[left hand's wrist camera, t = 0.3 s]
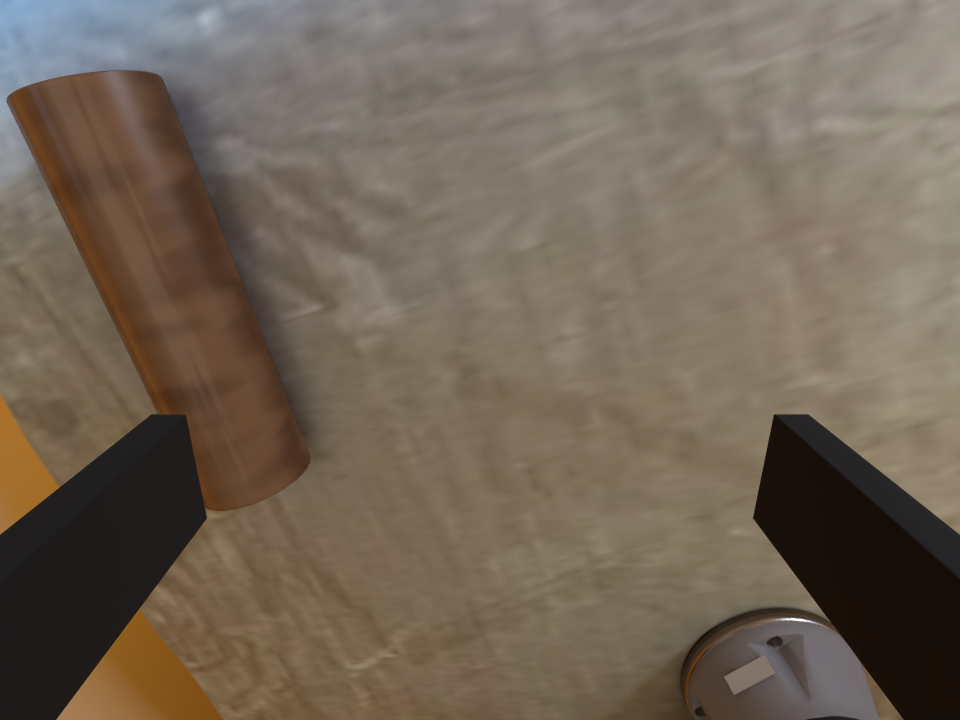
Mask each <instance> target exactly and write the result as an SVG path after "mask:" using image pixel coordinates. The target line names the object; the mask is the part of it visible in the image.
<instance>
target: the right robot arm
mask: <svg viewBox="0 0 960 720" xmlns="http://www.w3.org/2000/svg"><path fill="white" fill-rule="evenodd" d="M681 687H682V692H683V695H684V698H685V701H686V703H687V706H688V709H689V711H690V714H691V716H692V718H693V719H694V720H880V718H879V715H878V712H877V709H876V707H875V704H874V701H873V698H872V695H871V692H870V689H869V686H868V683H867V680H866V677H865V674H864V671H863V668H862V665H861V663H860V661H859V659H858V658H857V656H856V655H855V654H854V652H853V651H852V650H851V648H850V647H849V646H848V644H847V643H846V642H845V640H844V639H843V638H842V636H841V635H840V634H839V632H838V631H837V630H836V628H835V627H834V626H833V625H832V624H831V623H830V622H828V621H827V620H825V619H823V618H821V617H819V616H817V615H814V614H811V613H808V612H804V611H799V610H792V609H769V610H761V611H756V612H752V613H748V614H745V615H742V616H739V617H736V618H734V619H732V620H729V621H727V622H725V623H724V624H722V625H720V626H718V627H717V628H715V629H714V630H712V631H711V632H710V633H708V634H707V635H706V636H705V637H704V638H703V639H702V640H700V641H699V643H698V644H697V645H696V646H695V647H694V649H693V650H692V651H691V653H690V654H689V656H688V658H687V660H686V662H685V664H684V667H683V671H682V676H681Z"/></svg>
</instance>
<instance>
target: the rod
mask: <svg viewBox="0 0 960 720" xmlns="http://www.w3.org/2000/svg"><path fill="white" fill-rule="evenodd" d="M7 104H8V106H9V108H10V110H11V112H12V114H13V116H14V118H15V121H16V123H17V125H18V127H19V129H20V131H21V133H22V135H23V137H24V139H25V141H26V143H27V145H28V147H29V149H30V151H31V153H32V156H33V158H34V160H35V162H36V164H37V166H38V168H39V170H40V172H41V174H42V176H43V178H44V180H45V182H46V184H47V186H48V188H49V191H50V193H51V195H52V197H53V199H54V201H55V203H56V205H57V207H58V209H59V211H60V213H61V215H62V217H63V219H64V221H65V224H66V226H67V228H68V230H69V232H70V234H71V236H72V238H73V240H74V242H75V244H76V246H77V248H78V250H79V252H80V254H81V256H82V259H83V261H84V263H85V265H86V267H87V269H88V271H89V273H90V275H91V277H92V279H93V281H94V283H95V285H96V287H97V289H98V292H99V294H100V296H101V298H102V300H103V302H104V304H105V306H106V308H107V310H108V312H109V314H110V316H111V318H112V320H113V322H114V324H115V327H116V329H117V331H118V333H119V335H120V337H121V339H122V341H123V343H124V345H125V347H126V349H127V351H128V353H129V355H130V357H131V359H132V362H133V364H134V366H135V368H136V370H137V372H138V374H139V376H140V378H141V380H142V382H143V384H144V386H145V388H146V390H147V392H148V395H149V397H150V399H151V401H152V403H153V405H154V407H155V409H156V411H157V413H158V415H186V417H187V422H188V427H189V432H190V437H191V442H192V447H193V452H194V457H195V462H196V467H197V472H198V477H199V481H200V486H201V491H202V496H203V501H204V506H205V508H207V509H210V510H215V511H225V510H232V509H237V508H242V507H245V506H248V505H251V504H254V503H257V502H259V501H262V500H264V499H266V498H268V497H270V496H272V495H274V494H276V493H278V492H279V491H281V490H283V489H284V488H286V487H287V486H289V485H290V484H291V483H293V482H294V481H295V480H296V479H298V478H299V477H300V476H301V475H302V474H303V473H304V471H305V470H306V469H307V467H308V465H309V463H310V454H309V451H308V449H307V446H306V444H305V441H304V438H303V436H302V433H301V431H300V428H299V426H298V423H297V421H296V418H295V415H294V413H293V410H292V408H291V405H290V403H289V400H288V398H287V395H286V392H285V390H284V387H283V385H282V382H281V380H280V377H279V375H278V372H277V370H276V367H275V364H274V362H273V359H272V357H271V354H270V352H269V349H268V347H267V344H266V341H265V339H264V336H263V334H262V331H261V329H260V326H259V324H258V321H257V318H256V316H255V313H254V311H253V308H252V306H251V303H250V301H249V298H248V295H247V293H246V290H245V288H244V285H243V283H242V280H241V278H240V275H239V272H238V270H237V267H236V265H235V262H234V260H233V257H232V255H231V252H230V249H229V247H228V244H227V242H226V239H225V237H224V234H223V232H222V229H221V226H220V224H219V221H218V219H217V216H216V214H215V211H214V209H213V206H212V203H211V201H210V198H209V196H208V193H207V191H206V188H205V186H204V183H203V180H202V178H201V175H200V173H199V170H198V168H197V165H196V163H195V160H194V158H193V155H192V152H191V150H190V147H189V145H188V142H187V140H186V137H185V135H184V132H183V129H182V127H181V124H180V122H179V119H178V117H177V114H176V112H175V109H174V106H173V104H172V101H171V99H170V96H169V94H168V91H167V89H166V86H165V83H164V81H163V79H162V77H161V76H159V75H157V74H154V73H150V72H144V71H132V70H117V71H100V72H90V73H82V74H75V75H69V76H63V77H58V78H53V79H49V80H45V81H41V82H38V83H34V84H31V85H28V86H25V87H23V88H21V89H18V90H16V91H15V92H13V93H11V94H10V95H9V96H8V97H7Z"/></svg>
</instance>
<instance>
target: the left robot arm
mask: <svg viewBox="0 0 960 720" xmlns="http://www.w3.org/2000/svg"><path fill="white" fill-rule="evenodd" d="M206 519H207V516H206V511H205V506H204V501H203V496H202V491H201V486H200V481H199V477H198V472H197V467H196V462H195V457H194V452H193V447H192V442H191V437H190V432H189V427H188V422H187V417H186V415H150V416H149V417H148V418H147V419H145V420H144V421H143V422H142V423H140V424H139V425H138V426H137V427H135V428H134V429H133V430H132V431H130V432H129V433H128V434H127V435H125V436H124V437H123V438H121V439H120V440H119V441H118V442H116V443H115V444H114V445H113V446H111V447H110V448H109V449H108V450H106V451H105V452H104V453H103V454H101V455H100V456H99V457H98V458H96V459H95V460H94V461H93V462H91V463H90V464H89V465H88V466H86V467H85V468H84V469H82V470H81V471H80V472H79V473H77V474H76V475H75V476H74V477H72V478H71V479H70V480H69V481H67V482H66V483H65V484H64V485H62V486H61V487H60V488H59V489H57V490H56V491H55V492H54V493H52V494H51V495H50V496H49V497H47V498H46V499H45V500H44V501H42V502H41V503H40V504H39V505H37V506H36V507H35V508H34V509H32V510H31V511H30V512H28V513H27V514H26V515H25V516H23V517H22V518H21V519H20V520H18V521H17V522H16V523H15V524H13V525H12V526H11V527H10V528H8V529H7V530H6V531H4V532H3V533H2V534H1V535H0V720H56V719H57V718H58V716H59V715H60V714H61V712H62V711H63V710H64V708H65V707H66V706H67V704H68V703H69V702H70V700H71V699H72V698H73V696H74V695H75V694H76V692H77V691H78V690H79V688H80V687H81V686H82V684H83V683H84V682H85V680H86V679H87V678H88V676H89V675H90V674H91V672H92V671H93V670H94V668H95V667H96V666H97V664H98V663H99V662H100V660H101V659H102V658H103V656H104V655H105V654H106V652H107V651H108V650H109V648H110V647H111V646H112V644H113V643H114V642H115V640H116V639H117V638H118V636H119V635H120V634H121V632H122V631H123V630H124V628H125V627H126V626H127V624H128V623H129V622H130V620H131V619H132V618H133V616H134V615H135V614H136V612H137V611H138V610H139V608H140V607H141V606H142V604H143V603H144V602H145V600H146V599H147V598H148V596H149V595H150V594H151V592H152V591H153V590H154V588H155V587H156V586H157V584H158V583H159V582H160V580H161V579H162V578H163V576H164V575H165V574H166V572H167V571H168V570H169V568H170V567H171V566H172V564H173V563H174V562H175V560H176V559H177V558H178V556H179V555H180V554H181V552H182V551H183V550H184V548H185V547H186V546H187V544H188V543H189V542H190V540H191V539H192V538H193V536H194V535H195V534H196V532H197V531H198V529H199V528H200V527H201V525H202V524H203V523H204V521H205V520H206ZM753 519H754V520H755V521H756V523H757V524H758V525H759V527H760V528H761V529H762V531H763V532H764V534H765V535H766V536H767V538H768V539H769V540H770V542H771V543H772V544H773V546H774V547H775V548H776V550H777V551H778V552H779V554H780V555H781V556H782V558H783V559H784V560H785V562H786V563H787V564H788V566H789V567H790V568H791V570H792V571H793V572H794V574H795V575H796V576H797V578H798V579H799V580H800V582H801V583H802V584H803V586H804V587H805V588H806V590H807V591H808V592H809V594H810V595H811V596H812V598H813V599H814V600H815V602H816V603H817V604H818V606H819V607H820V608H821V610H822V611H823V612H824V614H825V615H826V616H827V618H828V619H829V620H830V622H831V623H832V624H833V626H834V627H835V628H836V630H837V631H838V632H839V634H840V635H841V636H842V638H843V639H844V640H845V642H846V643H847V644H848V646H849V647H850V648H851V650H852V651H853V652H854V654H855V655H856V656H857V658H858V659H859V660H860V662H861V663H862V664H863V666H864V667H865V668H866V670H867V671H868V672H869V674H870V675H871V676H872V678H873V679H874V680H875V682H876V683H877V684H878V686H879V687H880V688H881V690H882V691H883V692H884V694H885V695H886V696H887V698H888V699H889V700H890V702H891V703H892V704H893V706H894V707H895V708H896V710H897V711H898V712H899V714H900V715H901V716H902V718H903V719H904V720H960V535H959V534H958V533H957V532H956V531H954V530H953V529H952V528H950V527H949V526H948V525H947V524H945V523H944V522H943V521H942V520H940V519H939V518H938V517H937V516H935V515H934V514H933V513H932V512H930V511H929V510H928V509H927V508H925V507H924V506H923V505H922V504H920V503H919V502H918V501H917V500H915V499H914V498H913V497H911V496H910V495H909V494H908V493H906V492H905V491H904V490H903V489H901V488H900V487H899V486H898V485H896V484H895V483H894V482H893V481H891V480H890V479H889V478H888V477H886V476H885V475H884V474H883V473H881V472H880V471H879V470H878V469H876V468H875V467H874V466H872V465H871V464H870V463H869V462H867V461H866V460H865V459H864V458H862V457H861V456H860V455H859V454H857V453H856V452H855V451H854V450H852V449H851V448H850V447H849V446H847V445H846V444H845V443H844V442H842V441H841V440H840V439H839V438H837V437H836V436H835V435H833V434H832V433H831V432H830V431H828V430H827V429H826V428H825V427H823V426H822V425H821V424H820V423H818V422H817V421H816V420H815V419H813V418H812V417H811V416H810V415H774V417H773V422H772V427H771V432H770V437H769V442H768V447H767V452H766V457H765V462H764V467H763V472H762V477H761V481H760V486H759V491H758V496H757V501H756V506H755V511H754V516H753Z"/></svg>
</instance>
